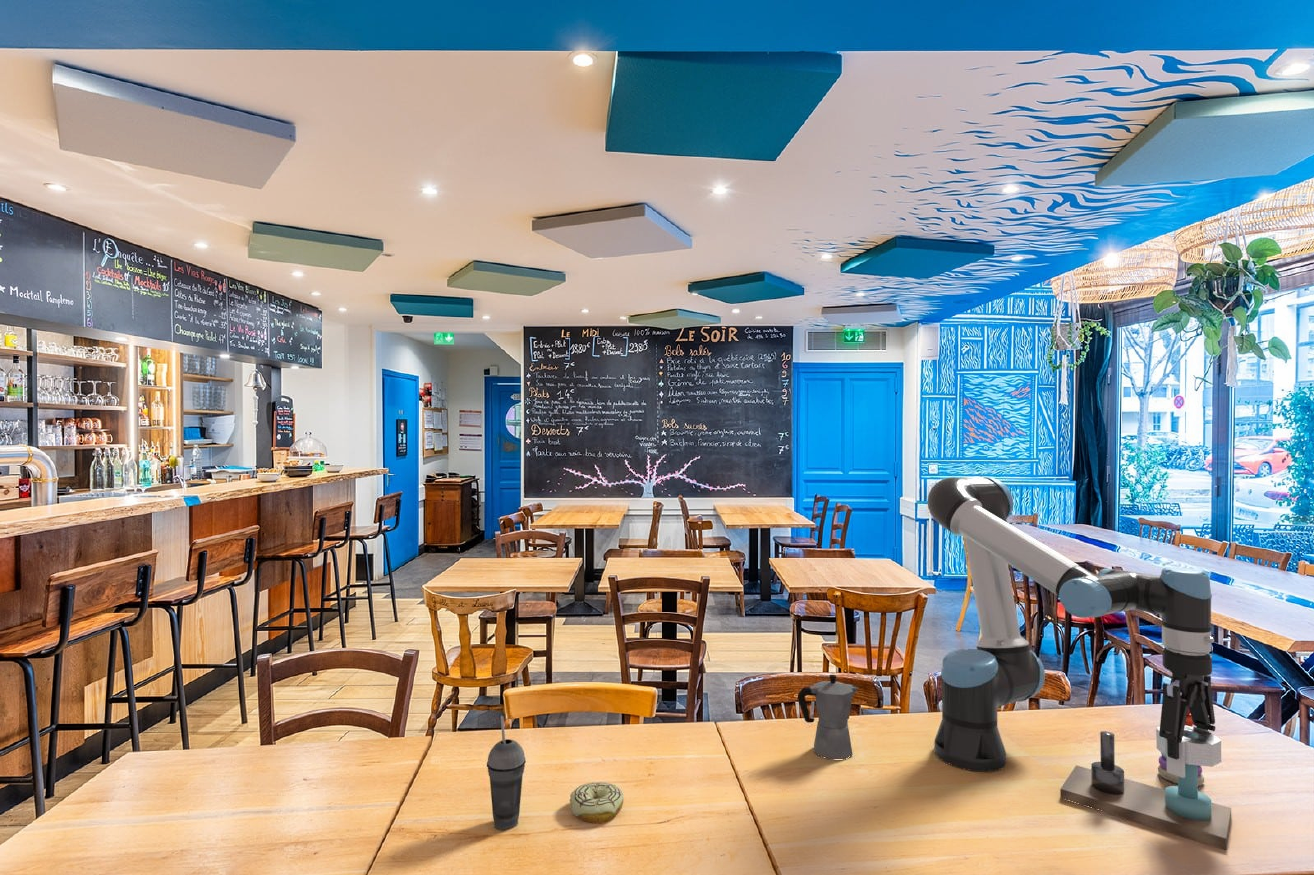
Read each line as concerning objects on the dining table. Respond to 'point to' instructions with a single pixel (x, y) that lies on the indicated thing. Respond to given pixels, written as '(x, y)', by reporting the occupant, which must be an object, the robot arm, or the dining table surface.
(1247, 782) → the dining table surface
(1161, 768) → the stacking toy
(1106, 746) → the stand rod
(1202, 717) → the robot arm
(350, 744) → the dining table surface
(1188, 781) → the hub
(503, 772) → the beverage cup
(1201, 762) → the steel ring
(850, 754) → the coffeepot
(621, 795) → the decorated donut
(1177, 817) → the walnut board
